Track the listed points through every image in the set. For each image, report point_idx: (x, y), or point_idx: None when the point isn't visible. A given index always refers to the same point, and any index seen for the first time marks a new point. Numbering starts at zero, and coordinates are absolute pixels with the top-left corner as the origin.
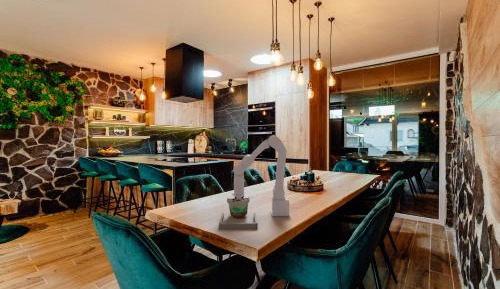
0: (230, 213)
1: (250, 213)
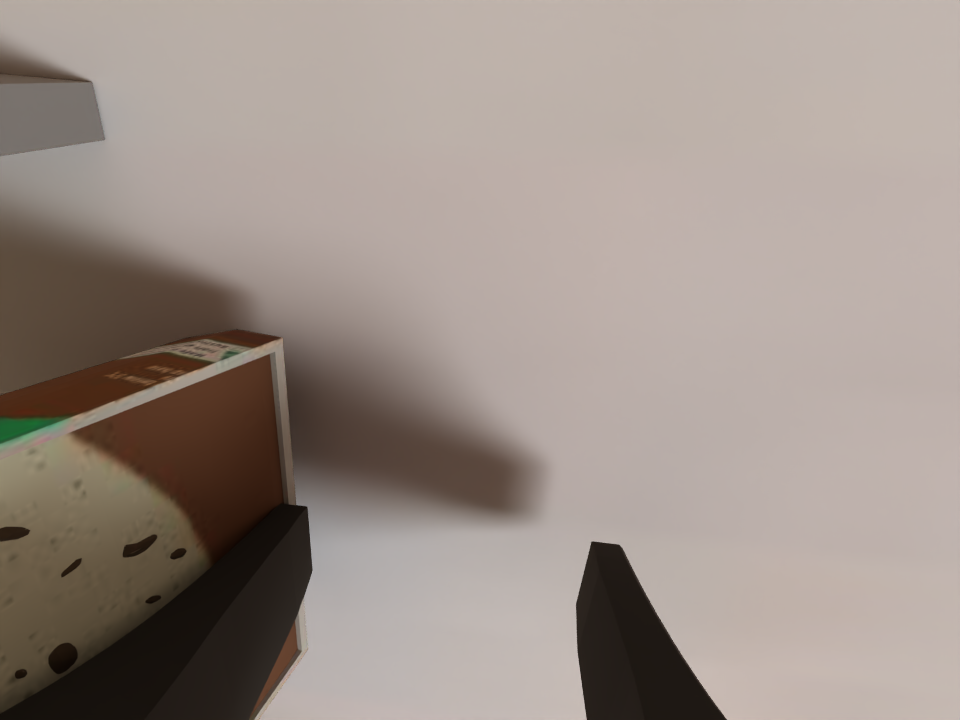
0: (170, 346)
1: (443, 655)
